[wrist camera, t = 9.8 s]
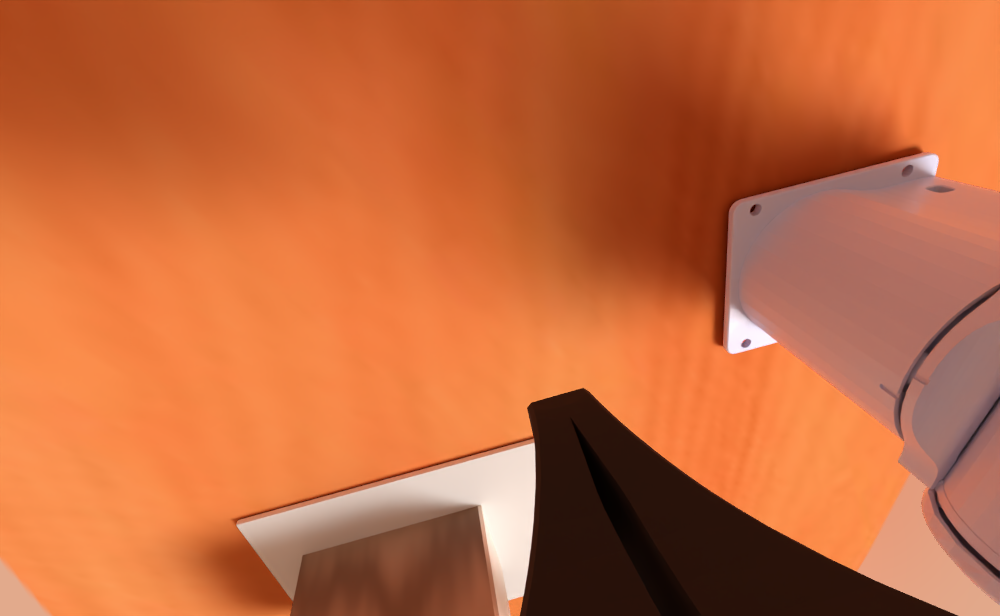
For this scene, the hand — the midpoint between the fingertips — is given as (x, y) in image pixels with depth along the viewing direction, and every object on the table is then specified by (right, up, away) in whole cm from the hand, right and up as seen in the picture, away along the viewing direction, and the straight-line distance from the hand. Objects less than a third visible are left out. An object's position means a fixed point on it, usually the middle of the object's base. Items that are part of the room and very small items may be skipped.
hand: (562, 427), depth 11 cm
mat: (-4, -11, +17) cm, 21 cm away
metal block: (-1, -12, +14) cm, 19 cm away
